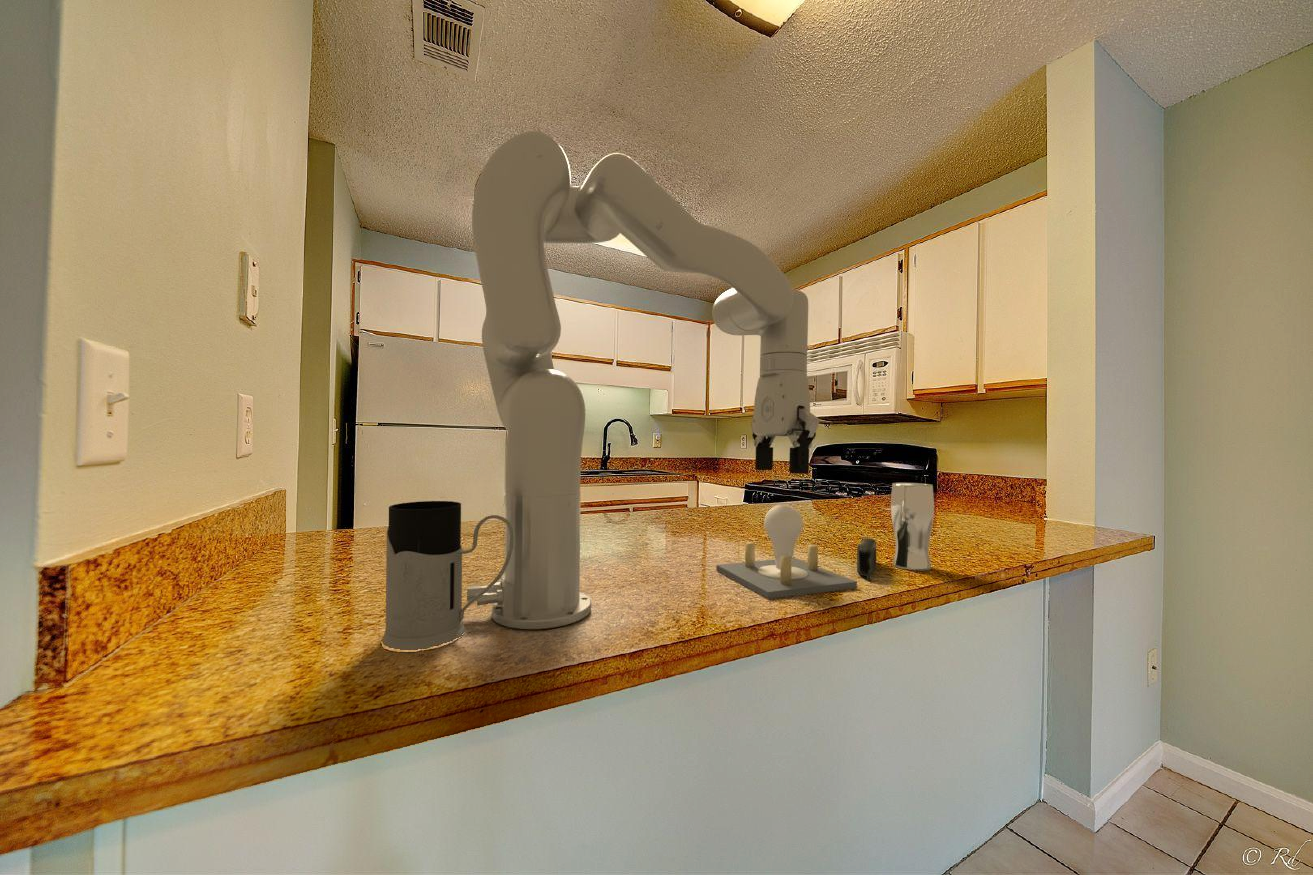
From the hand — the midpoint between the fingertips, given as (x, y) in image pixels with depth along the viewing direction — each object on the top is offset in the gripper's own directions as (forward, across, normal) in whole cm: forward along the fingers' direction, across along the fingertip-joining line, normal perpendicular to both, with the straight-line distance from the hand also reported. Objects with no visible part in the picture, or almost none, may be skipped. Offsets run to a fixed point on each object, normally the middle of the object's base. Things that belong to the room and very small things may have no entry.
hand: (780, 471), depth 79 cm
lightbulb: (+17, 0, +1) cm, 17 cm away
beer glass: (+17, +1, +28) cm, 33 cm away
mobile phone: (+18, 0, +18) cm, 25 cm away
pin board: (+18, 0, +1) cm, 18 cm away
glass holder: (+19, +7, -49) cm, 53 cm away
